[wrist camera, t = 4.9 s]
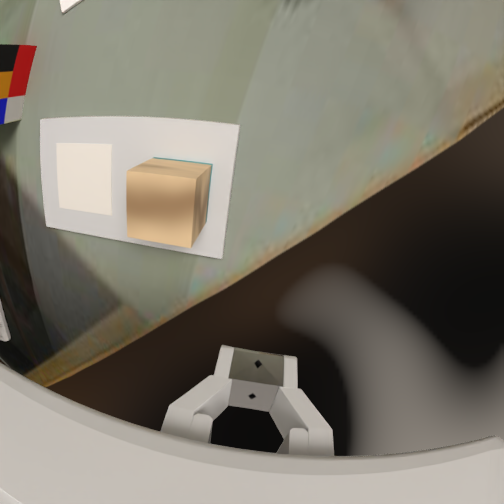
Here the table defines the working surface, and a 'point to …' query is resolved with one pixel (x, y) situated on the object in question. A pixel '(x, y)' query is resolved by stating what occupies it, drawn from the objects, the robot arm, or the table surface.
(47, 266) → the table surface
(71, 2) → the photo frame
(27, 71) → the puzzle toy
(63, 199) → the grey board
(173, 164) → the wood cube
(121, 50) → the table surface
